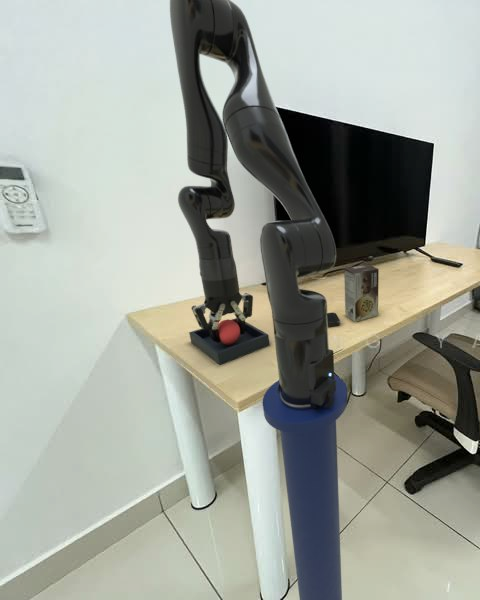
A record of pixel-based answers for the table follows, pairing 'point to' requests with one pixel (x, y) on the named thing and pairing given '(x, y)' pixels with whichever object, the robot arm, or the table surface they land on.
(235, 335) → the stress ball
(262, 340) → the tray
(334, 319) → the phone
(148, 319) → the table surface
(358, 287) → the coffee box
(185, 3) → the robot arm
